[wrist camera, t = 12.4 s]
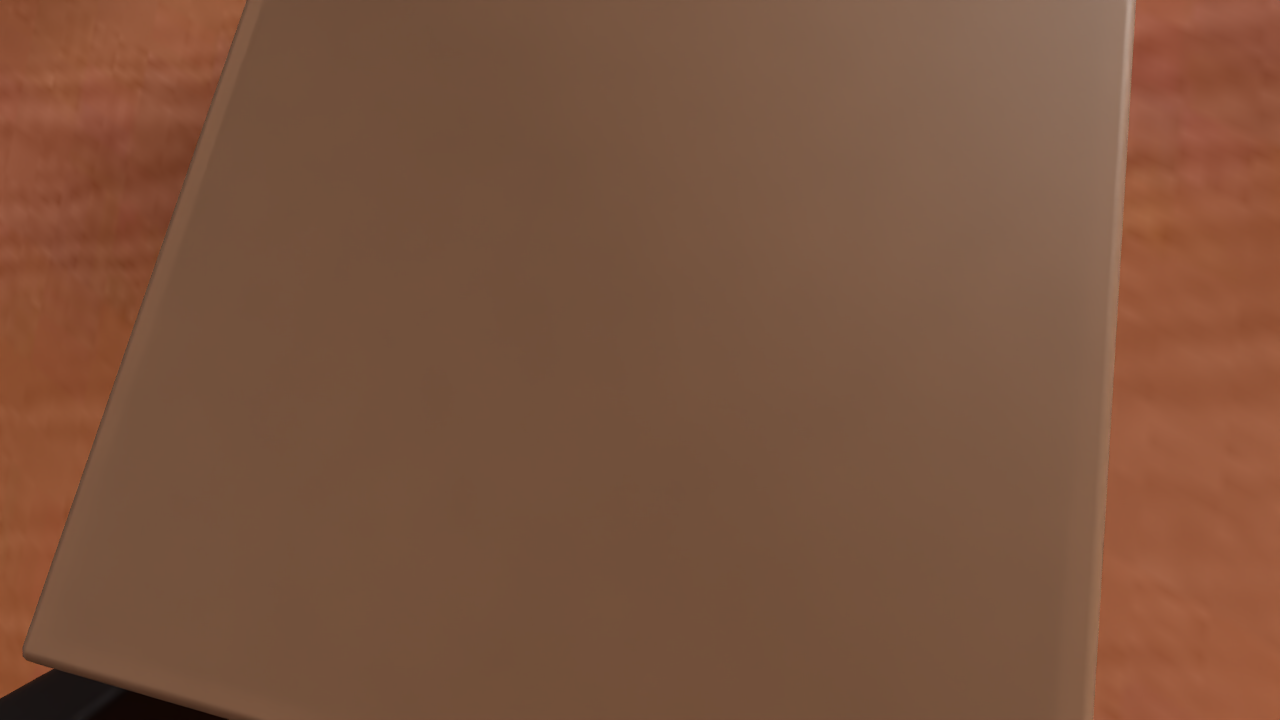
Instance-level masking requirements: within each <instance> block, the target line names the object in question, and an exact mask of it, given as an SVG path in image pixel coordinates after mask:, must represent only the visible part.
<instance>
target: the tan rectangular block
mask: <svg viewBox="0 0 1280 720" xmlns="http://www.w3.org/2000/svg"><path fill="white" fill-rule="evenodd" d="M1135 8H1136V0H247V1H246V4H245V7H244V10H243V13H242V16H241V18H240V21H239V24H238V27H237V30H236V33H235V36H234V39H233V41H232V44H231V47H230V50H229V53H228V56H227V59H226V62H225V65H224V67H223V70H222V73H221V76H220V79H219V82H218V85H217V88H216V91H215V93H214V96H213V99H212V102H211V105H210V108H209V111H208V114H207V117H206V119H205V122H204V125H203V128H202V131H201V134H200V137H199V140H198V142H197V145H196V148H195V151H194V154H193V157H192V160H191V163H190V166H189V168H188V171H187V174H186V177H185V180H184V183H183V186H182V189H181V192H180V194H179V197H178V200H177V203H176V206H175V209H174V212H173V215H172V218H171V220H170V223H169V226H168V229H167V232H166V235H165V238H164V241H163V243H162V246H161V249H160V252H159V255H158V258H157V261H156V264H155V267H154V269H153V272H152V275H151V278H150V281H149V284H148V287H147V290H146V293H145V295H144V298H143V301H142V304H141V307H140V310H139V313H138V316H137V319H136V321H135V324H134V327H133V330H132V333H131V336H130V339H129V342H128V345H127V347H126V350H125V353H124V356H123V359H122V362H121V365H120V368H119V370H118V373H117V376H116V379H115V382H114V385H113V388H112V391H111V394H110V396H109V399H108V402H107V405H106V408H105V411H104V414H103V417H102V420H101V422H100V425H99V428H98V431H97V434H96V437H95V440H94V443H93V446H92V448H91V451H90V454H89V457H88V460H87V463H86V466H85V469H84V471H83V474H82V477H81V480H80V483H79V486H78V489H77V492H76V495H75V497H74V500H73V503H72V506H71V509H70V512H69V515H68V518H67V521H66V523H65V526H64V529H63V532H62V535H61V538H60V541H59V544H58V547H57V549H56V552H55V555H54V558H53V561H52V564H51V567H50V570H49V572H48V575H47V578H46V581H45V584H44V587H43V590H42V593H41V596H40V598H39V601H38V604H37V607H36V610H35V613H34V616H33V619H32V622H31V624H30V627H29V630H28V633H27V636H26V639H25V642H24V645H23V657H24V658H25V659H26V660H28V661H31V662H33V663H36V664H40V665H43V666H47V667H50V668H54V669H57V670H60V671H64V672H67V673H71V674H74V675H78V676H81V677H85V678H88V679H91V680H95V681H98V682H102V683H105V684H109V685H112V686H115V687H119V688H122V689H126V690H129V691H133V692H136V693H140V694H143V695H146V696H150V697H153V698H157V699H160V700H164V701H167V702H171V703H174V704H177V705H181V706H184V707H188V708H191V709H195V710H198V711H201V712H205V713H208V714H212V715H215V716H219V717H222V718H226V719H229V720H1093V715H1094V698H1095V681H1096V665H1097V648H1098V631H1099V614H1100V597H1101V580H1102V564H1103V547H1104V530H1105V513H1106V496H1107V480H1108V463H1109V446H1110V429H1111V412H1112V395H1113V379H1114V362H1115V345H1116V328H1117V311H1118V294H1119V278H1120V261H1121V244H1122V227H1123V210H1124V193H1125V177H1126V160H1127V143H1128V126H1129V109H1130V93H1131V76H1132V59H1133V42H1134V25H1135Z"/></svg>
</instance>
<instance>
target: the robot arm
mask: <svg viewBox="0 0 1280 720" xmlns="http://www.w3.org/2000/svg"><path fill="white" fill-rule="evenodd" d="M0 720H229V719H226V718H222V717H219V716H215V715H212V714H208V713H205V712H201V711H198V710H195V709H191V708H188V707H184V706H181V705H177V704H174V703H171V702H167V701H164V700H160V699H157V698H153V697H150V696H146V695H143V694H140V693H136V692H133V691H129V690H126V689H122V688H119V687H115V686H112V685H109V684H105V683H102V682H98V681H95V680H91V679H88V678H85V677H81V676H78V675H74V674H71V673H67V672H64V671H60V670H57V669H52V670H51V671H49V672H47V673H45V674H43V675H42V676H40V677H38V678H36V679H35V680H33V681H31V682H29V683H27V684H26V685H24V686H22V687H20V688H18V689H17V690H15V691H13V692H11V693H9V694H8V695H6V696H4V697H2V698H0Z"/></svg>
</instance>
